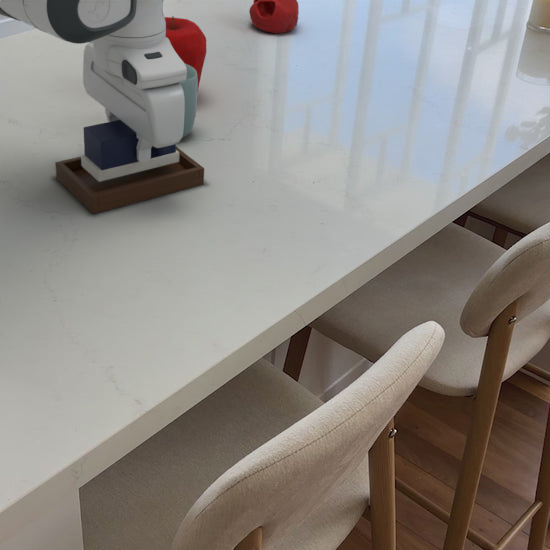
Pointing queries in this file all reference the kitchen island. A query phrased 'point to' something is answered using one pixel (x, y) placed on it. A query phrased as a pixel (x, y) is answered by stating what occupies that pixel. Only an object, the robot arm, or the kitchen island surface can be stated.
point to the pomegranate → (274, 15)
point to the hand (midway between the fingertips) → (130, 149)
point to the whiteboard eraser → (119, 152)
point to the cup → (189, 98)
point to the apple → (187, 42)
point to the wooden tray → (128, 183)
